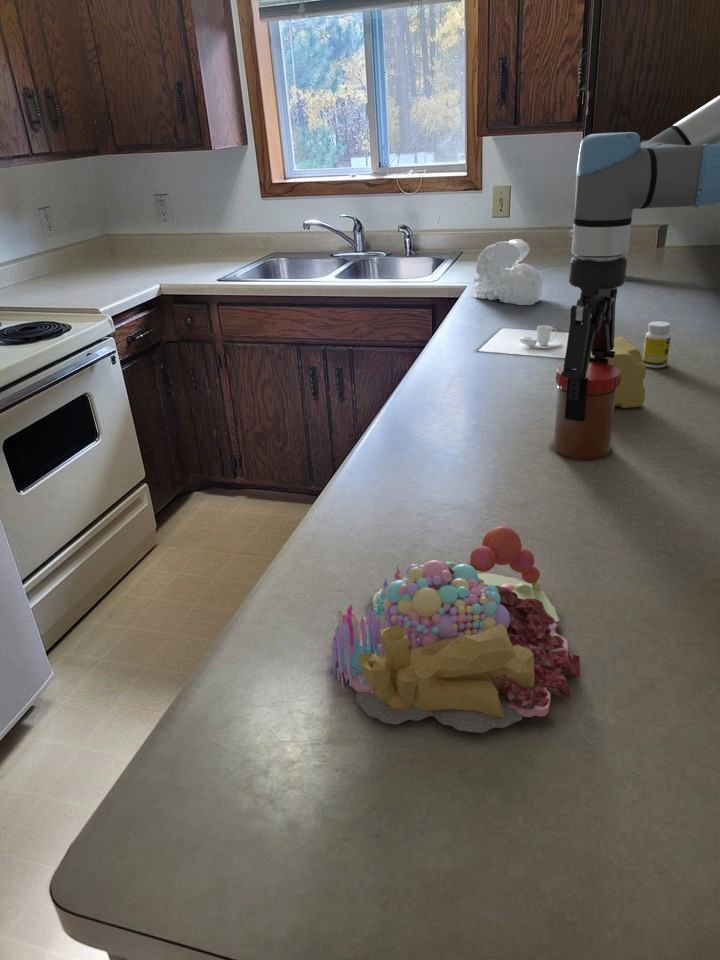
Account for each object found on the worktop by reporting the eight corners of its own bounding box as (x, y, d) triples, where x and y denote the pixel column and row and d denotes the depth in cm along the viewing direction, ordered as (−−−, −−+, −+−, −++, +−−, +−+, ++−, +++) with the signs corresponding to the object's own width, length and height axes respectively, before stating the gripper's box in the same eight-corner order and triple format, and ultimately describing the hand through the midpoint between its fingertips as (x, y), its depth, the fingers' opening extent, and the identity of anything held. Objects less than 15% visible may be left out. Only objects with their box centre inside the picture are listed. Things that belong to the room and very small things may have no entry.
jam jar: (607, 438, 118) (614, 368, 112) (612, 460, 110) (620, 386, 105) (552, 436, 119) (557, 367, 114) (554, 458, 112) (559, 385, 107)
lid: (550, 389, 108) (551, 377, 107) (562, 371, 115) (563, 359, 115) (615, 395, 105) (616, 382, 104) (623, 376, 112) (624, 363, 111)
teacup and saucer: (517, 348, 164) (518, 330, 162) (526, 338, 170) (527, 321, 168) (557, 351, 160) (558, 332, 158) (564, 341, 167) (566, 323, 165)
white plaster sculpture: (554, 274, 189) (492, 230, 192) (509, 337, 200) (451, 294, 203) (568, 264, 205) (510, 224, 207) (526, 323, 216) (471, 284, 218)
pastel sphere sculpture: (613, 728, 63) (625, 642, 59) (339, 755, 62) (332, 669, 58) (529, 568, 85) (534, 498, 81) (327, 586, 84) (321, 516, 80)
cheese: (644, 407, 129) (651, 351, 124) (585, 413, 127) (590, 357, 123) (615, 388, 138) (621, 335, 133) (561, 394, 137) (565, 341, 132)
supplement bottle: (667, 369, 146) (672, 327, 143) (641, 367, 148) (646, 326, 144) (666, 361, 150) (672, 321, 147) (641, 360, 152) (646, 320, 148)
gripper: (595, 242, 112) (583, 383, 122) (544, 268, 96) (535, 429, 106) (647, 244, 108) (630, 390, 118) (602, 272, 92) (587, 438, 102)
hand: (585, 408), depth 112 cm, fingers closed on lid, 9 cm apart
